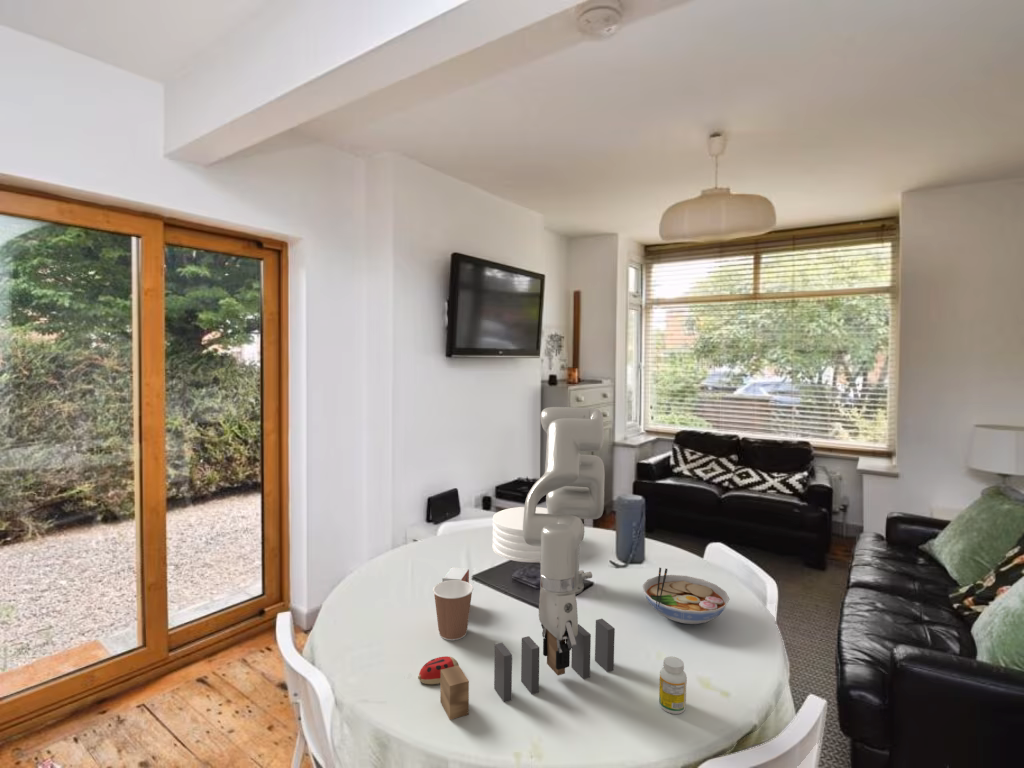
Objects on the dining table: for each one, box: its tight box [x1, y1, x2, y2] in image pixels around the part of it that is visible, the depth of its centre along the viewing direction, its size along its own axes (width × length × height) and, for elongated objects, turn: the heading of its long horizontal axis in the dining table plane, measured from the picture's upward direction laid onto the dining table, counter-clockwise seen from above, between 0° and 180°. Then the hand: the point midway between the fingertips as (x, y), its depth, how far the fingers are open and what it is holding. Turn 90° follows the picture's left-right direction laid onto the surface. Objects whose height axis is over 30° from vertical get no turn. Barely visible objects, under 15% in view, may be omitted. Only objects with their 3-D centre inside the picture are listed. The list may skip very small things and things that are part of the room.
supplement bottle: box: [658, 655, 688, 715], centre depth 113 cm, size 5×5×10 cm
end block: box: [439, 665, 470, 721], centre depth 112 cm, size 4×6×7 cm, turn 25°
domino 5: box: [594, 618, 616, 673], centre depth 127 cm, size 2×5×10 cm, turn 25°
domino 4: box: [570, 623, 592, 680], centre depth 125 cm, size 2×5×10 cm, turn 25°
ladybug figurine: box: [417, 656, 460, 685], centre depth 123 cm, size 7×10×4 cm
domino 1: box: [493, 642, 513, 703], centre depth 116 cm, size 2×5×10 cm, turn 25°
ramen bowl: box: [642, 567, 730, 625], centre depth 151 cm, size 25×23×8 cm
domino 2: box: [520, 636, 540, 695], centre depth 119 cm, size 2×5×10 cm, turn 25°
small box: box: [441, 567, 470, 583], centre depth 154 cm, size 8×6×10 cm
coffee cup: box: [432, 580, 474, 641], centre depth 141 cm, size 10×10×12 cm
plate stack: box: [492, 506, 548, 563], centre depth 202 cm, size 28×28×12 cm
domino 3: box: [546, 630, 566, 676], centre depth 122 cm, size 2×5×10 cm, turn 25°
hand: (556, 660), depth 122 cm, fingers closed on domino 3, 4 cm apart
